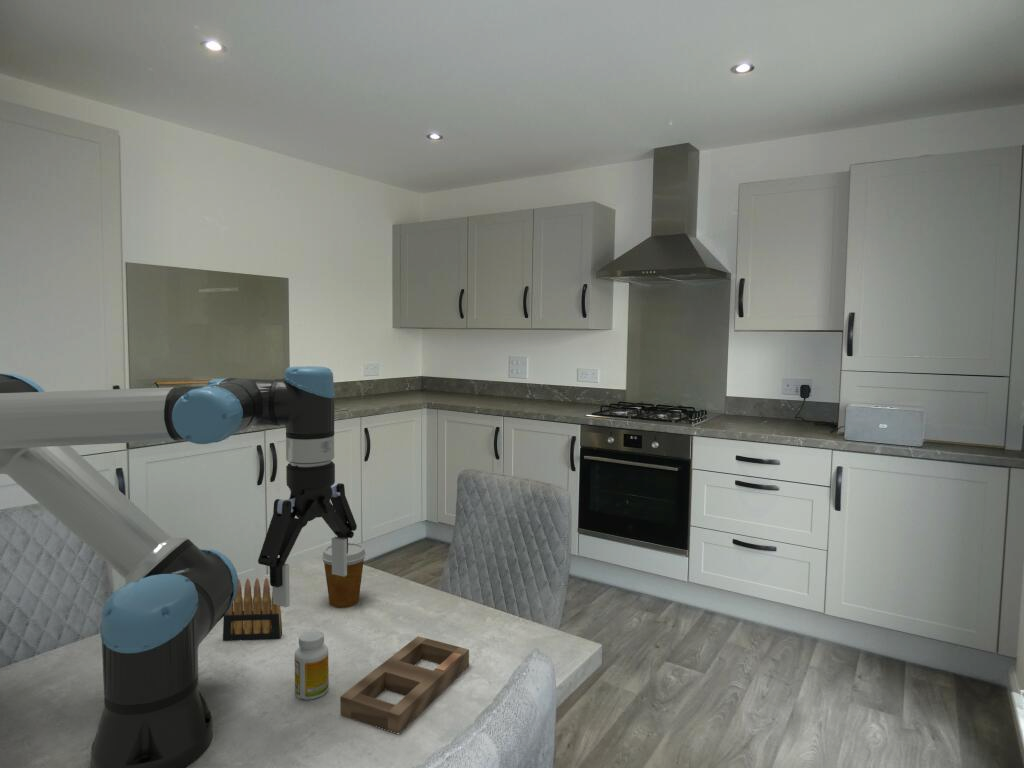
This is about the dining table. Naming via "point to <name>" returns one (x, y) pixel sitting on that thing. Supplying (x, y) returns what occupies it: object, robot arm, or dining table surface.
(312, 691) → the supplement bottle
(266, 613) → the ammunition clip
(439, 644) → the rack
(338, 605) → the disposable coffee cup
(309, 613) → the dining table surface
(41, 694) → the dining table surface
